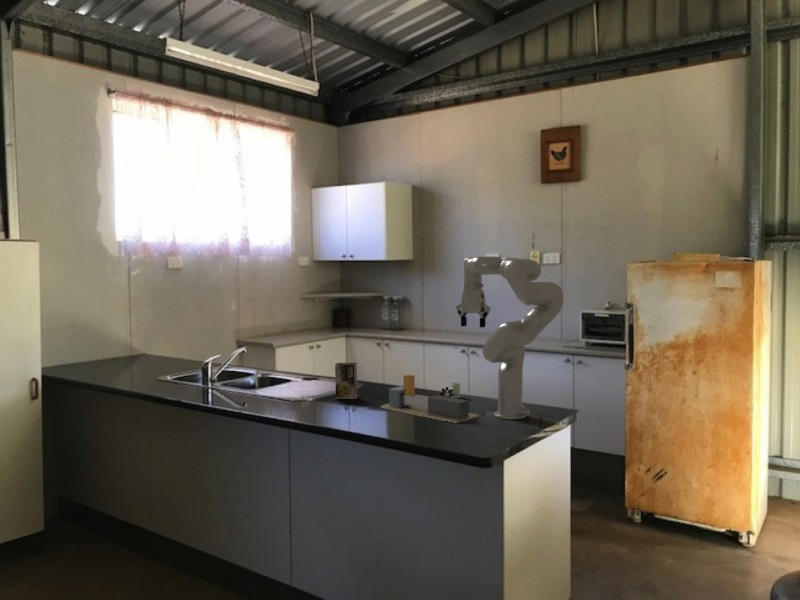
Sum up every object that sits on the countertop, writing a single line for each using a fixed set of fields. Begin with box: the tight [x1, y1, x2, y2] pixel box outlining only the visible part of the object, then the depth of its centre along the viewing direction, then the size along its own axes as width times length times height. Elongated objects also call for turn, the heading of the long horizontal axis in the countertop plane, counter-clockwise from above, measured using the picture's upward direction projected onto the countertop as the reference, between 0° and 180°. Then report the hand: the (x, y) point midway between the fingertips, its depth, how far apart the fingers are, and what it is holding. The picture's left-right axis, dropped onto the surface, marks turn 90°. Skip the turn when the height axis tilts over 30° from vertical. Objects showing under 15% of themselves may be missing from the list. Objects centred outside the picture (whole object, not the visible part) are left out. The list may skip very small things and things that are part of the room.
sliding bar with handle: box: [401, 374, 429, 409], centre depth 266 cm, size 23×4×12 cm, turn 47°
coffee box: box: [334, 362, 358, 400], centre depth 290 cm, size 9×6×16 cm
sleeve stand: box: [380, 394, 480, 424], centre depth 262 cm, size 41×14×7 cm, turn 47°
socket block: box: [388, 385, 405, 407], centre depth 273 cm, size 6×8×7 cm
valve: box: [439, 382, 461, 399], centre depth 288 cm, size 7×7×12 cm
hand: (473, 326), depth 273 cm, fingers open, 9 cm apart
